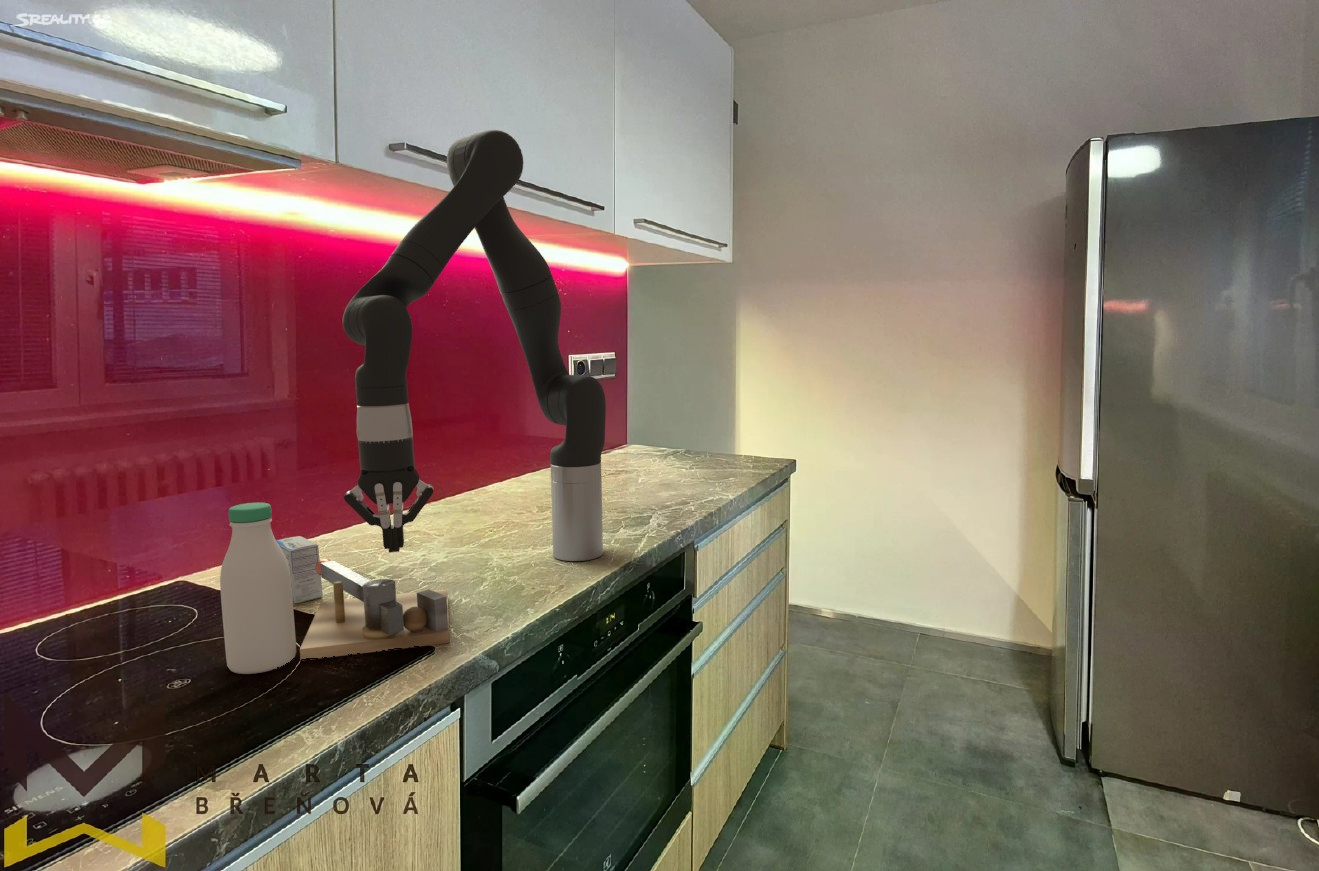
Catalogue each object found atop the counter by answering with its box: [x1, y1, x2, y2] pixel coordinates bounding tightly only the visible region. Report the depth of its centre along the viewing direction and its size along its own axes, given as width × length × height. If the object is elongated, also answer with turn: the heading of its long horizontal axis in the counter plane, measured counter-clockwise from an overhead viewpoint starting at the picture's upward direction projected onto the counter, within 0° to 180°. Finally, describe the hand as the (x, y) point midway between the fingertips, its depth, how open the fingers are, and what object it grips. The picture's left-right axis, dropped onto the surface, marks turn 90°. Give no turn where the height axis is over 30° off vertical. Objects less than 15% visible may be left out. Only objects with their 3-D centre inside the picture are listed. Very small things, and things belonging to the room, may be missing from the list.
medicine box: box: [276, 535, 324, 604], centre depth 118 cm, size 8×4×9 cm, turn 45°
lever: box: [315, 558, 404, 635], centre depth 104 cm, size 25×4×5 cm, turn 44°
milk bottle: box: [219, 502, 297, 675], centre depth 92 cm, size 8×8×20 cm
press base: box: [299, 581, 450, 660], centre depth 104 cm, size 18×18×7 cm
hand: (394, 550), depth 111 cm, fingers closed
